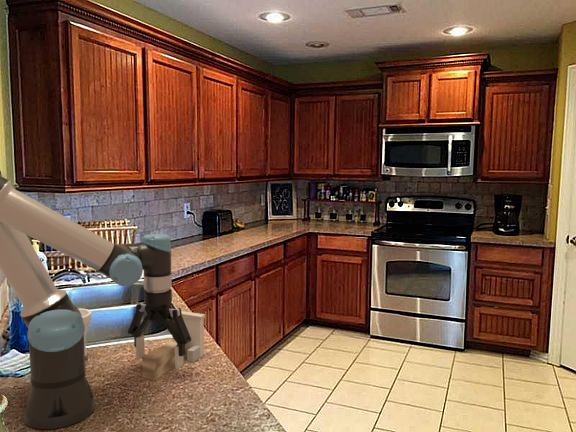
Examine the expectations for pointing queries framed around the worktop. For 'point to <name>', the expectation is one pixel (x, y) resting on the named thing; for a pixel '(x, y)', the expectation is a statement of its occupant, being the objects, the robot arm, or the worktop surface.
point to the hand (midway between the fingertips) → (159, 362)
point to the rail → (160, 360)
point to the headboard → (194, 335)
